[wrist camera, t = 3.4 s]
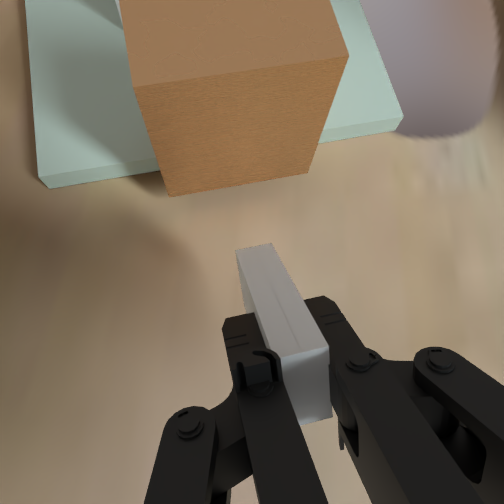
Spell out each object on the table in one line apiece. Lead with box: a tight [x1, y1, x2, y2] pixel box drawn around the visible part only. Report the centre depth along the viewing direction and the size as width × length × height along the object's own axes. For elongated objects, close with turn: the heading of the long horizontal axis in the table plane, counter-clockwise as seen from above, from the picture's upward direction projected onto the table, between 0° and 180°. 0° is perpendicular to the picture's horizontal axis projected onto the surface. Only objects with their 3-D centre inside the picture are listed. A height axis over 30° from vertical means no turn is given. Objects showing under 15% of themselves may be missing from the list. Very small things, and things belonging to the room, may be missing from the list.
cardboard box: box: [119, 0, 349, 197], centre depth 21 cm, size 8×13×9 cm, turn 12°
